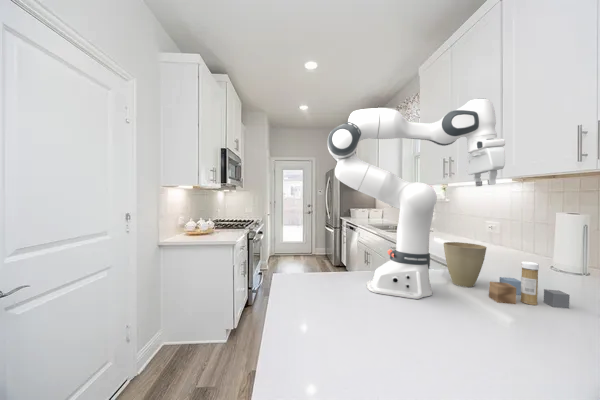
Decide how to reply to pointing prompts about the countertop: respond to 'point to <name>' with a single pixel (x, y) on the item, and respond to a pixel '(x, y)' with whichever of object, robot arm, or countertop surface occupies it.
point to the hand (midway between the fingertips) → (485, 185)
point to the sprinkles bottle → (529, 282)
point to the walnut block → (502, 292)
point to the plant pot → (464, 262)
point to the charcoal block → (556, 298)
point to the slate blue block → (512, 283)
